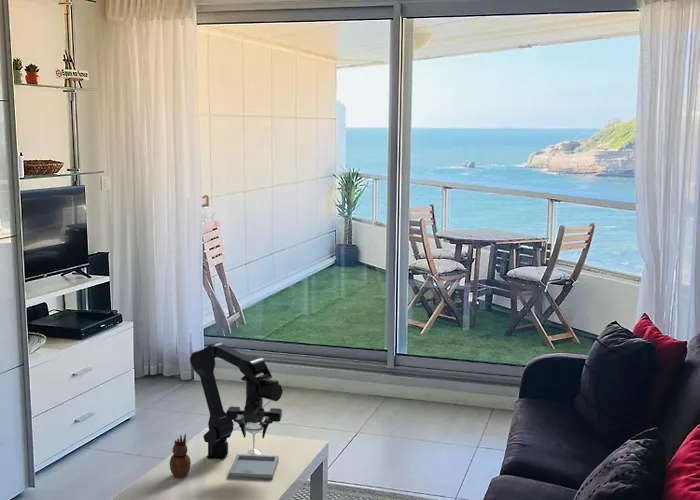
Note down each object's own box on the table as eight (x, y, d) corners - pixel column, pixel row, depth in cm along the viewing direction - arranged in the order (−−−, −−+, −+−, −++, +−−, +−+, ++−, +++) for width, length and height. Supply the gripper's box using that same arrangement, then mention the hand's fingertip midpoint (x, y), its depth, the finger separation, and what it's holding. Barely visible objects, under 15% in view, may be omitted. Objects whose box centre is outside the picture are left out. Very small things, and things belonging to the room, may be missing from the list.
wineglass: (250, 446, 270) (250, 414, 268) (267, 449, 267) (267, 417, 265) (240, 453, 263) (240, 420, 261) (258, 457, 261) (258, 423, 259)
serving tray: (228, 477, 259) (228, 472, 259) (237, 458, 274) (237, 454, 274) (272, 479, 258) (272, 474, 258) (278, 460, 273) (278, 455, 273)
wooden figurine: (193, 473, 261) (193, 432, 259) (184, 481, 256) (184, 438, 254) (176, 470, 264) (175, 429, 261) (167, 477, 258) (166, 435, 256)
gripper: (222, 401, 254) (222, 445, 257) (278, 403, 254) (277, 448, 256) (229, 390, 265) (229, 432, 268) (282, 392, 265) (282, 435, 267)
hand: (254, 437), depth 264 cm, fingers closed on wineglass, 6 cm apart
